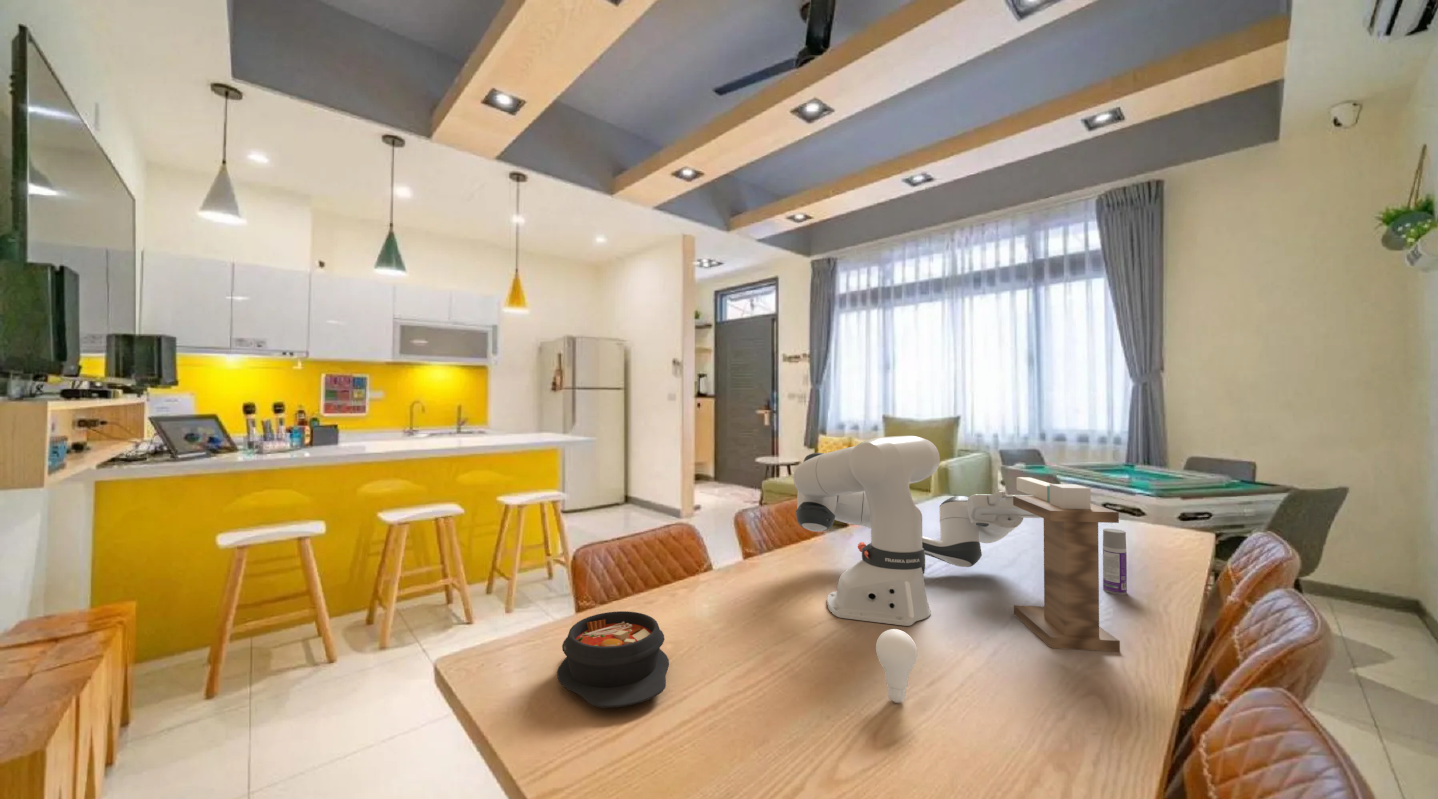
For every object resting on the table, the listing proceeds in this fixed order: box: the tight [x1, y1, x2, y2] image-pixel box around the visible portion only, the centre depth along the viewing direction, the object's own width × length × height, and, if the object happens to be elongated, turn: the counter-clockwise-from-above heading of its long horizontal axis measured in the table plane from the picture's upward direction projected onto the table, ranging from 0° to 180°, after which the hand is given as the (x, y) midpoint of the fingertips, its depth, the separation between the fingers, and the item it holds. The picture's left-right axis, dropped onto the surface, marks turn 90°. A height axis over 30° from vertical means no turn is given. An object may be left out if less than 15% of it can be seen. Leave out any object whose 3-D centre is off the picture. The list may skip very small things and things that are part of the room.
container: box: [1102, 528, 1128, 596], centre depth 129 cm, size 5×5×15 cm
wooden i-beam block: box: [1013, 496, 1121, 653], centre depth 106 cm, size 12×16×26 cm
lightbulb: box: [875, 628, 918, 704], centre depth 81 cm, size 6×6×11 cm
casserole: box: [556, 610, 670, 709], centre depth 89 cm, size 25×19×8 cm
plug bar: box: [1016, 476, 1092, 509], centre depth 112 cm, size 5×22×4 cm, turn 173°
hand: (1023, 494), depth 124 cm, fingers open, 8 cm apart
